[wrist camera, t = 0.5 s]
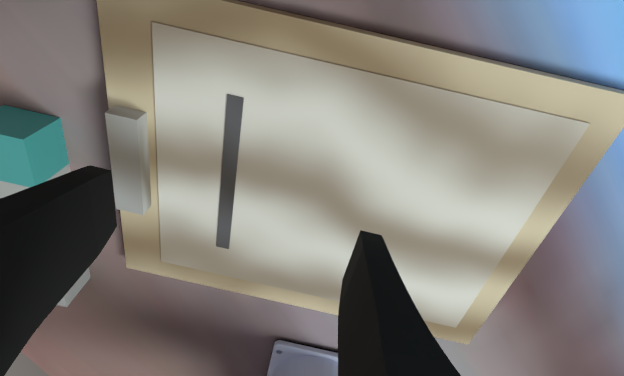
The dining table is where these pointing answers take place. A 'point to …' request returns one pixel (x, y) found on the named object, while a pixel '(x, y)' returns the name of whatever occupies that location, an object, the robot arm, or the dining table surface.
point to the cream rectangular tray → (335, 155)
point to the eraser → (33, 159)
